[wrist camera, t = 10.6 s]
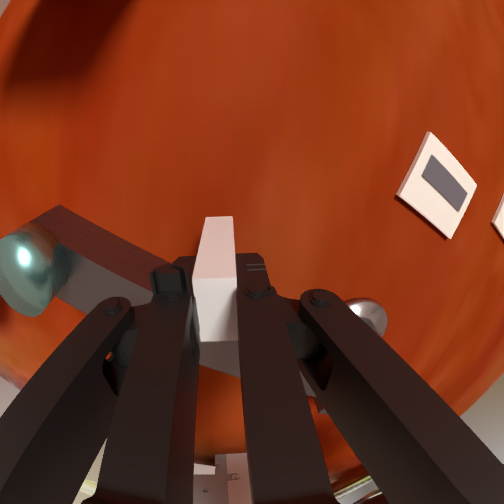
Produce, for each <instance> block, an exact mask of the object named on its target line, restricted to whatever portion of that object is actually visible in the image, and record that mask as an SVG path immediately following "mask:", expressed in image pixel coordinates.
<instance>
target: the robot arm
mask: <svg viewBox="0 0 504 504" xmlns="http://www.w3.org/2000/svg"><path fill="white" fill-rule="evenodd" d="M149 277H150V282H151V287H152V292H153V297H152V300H151V302H150V303H147V304H143V305H139V306H134V307H132V306H131V302H130V301H129V300H128V299H127V298H124V297H110V298H107V299H105V300H103V301H101V302H100V303H99V304H98V305H97V306H96V307H95V308H94V309H93V310H92V311H91V312H90V313H89V314H88V315H87V316H86V317H85V318H84V319H83V320H82V321H81V322H80V323H79V324H78V325H77V326H76V328H75V329H74V330H73V331H72V332H71V333H70V334H69V335H68V336H67V337H66V338H65V339H64V341H63V342H62V343H61V344H60V345H59V346H58V347H57V348H56V349H55V351H54V352H53V353H52V354H51V355H50V356H49V357H48V359H47V360H46V361H45V362H44V363H43V364H42V366H41V367H40V368H39V369H38V370H37V372H36V373H35V374H34V375H33V376H32V378H31V379H30V380H29V381H28V382H27V384H26V385H25V386H24V387H23V389H22V390H21V391H20V393H19V394H18V395H17V396H16V398H15V399H14V400H13V401H12V403H11V404H10V406H9V407H8V408H7V409H6V411H5V412H4V413H3V415H2V416H1V418H0V504H72V503H73V501H74V499H75V497H76V495H77V493H78V491H79V489H80V487H81V485H82V483H83V482H84V480H85V478H86V475H87V474H88V472H89V470H90V468H91V466H92V464H93V462H94V460H95V459H96V457H97V455H98V453H99V451H100V449H101V447H102V445H103V444H104V442H105V440H106V438H107V442H106V446H105V450H104V454H103V459H102V463H101V468H100V473H99V478H98V483H97V488H96V491H95V493H94V495H93V496H92V497H90V498H87V499H85V500H83V501H82V503H81V504H193V472H194V441H195V419H196V402H197V386H198V372H199V359H200V348H199V334H200V340H201V342H206V341H237V340H238V350H239V364H240V378H241V391H242V404H243V416H244V428H245V439H246V450H247V461H248V471H249V481H250V491H251V501H252V504H340V503H339V502H338V501H337V500H336V498H335V497H334V494H333V491H332V487H331V483H330V479H329V476H328V472H327V468H326V464H325V461H324V457H323V453H322V450H321V446H320V442H319V439H318V435H317V431H316V428H315V424H314V421H313V417H312V413H311V410H310V406H309V403H308V399H307V396H306V392H305V388H304V385H303V381H302V378H301V374H300V372H301V373H302V375H303V376H304V378H305V379H306V381H307V383H308V384H309V386H310V387H311V389H312V390H313V392H314V393H315V395H316V396H317V398H318V399H319V401H320V402H321V404H322V405H323V407H324V408H325V410H326V412H327V413H328V415H329V416H330V418H331V419H332V421H333V422H334V424H335V425H336V427H337V428H338V430H339V431H340V433H341V434H342V435H343V437H344V438H345V440H346V441H347V443H348V444H349V446H350V447H351V449H352V450H353V452H354V453H355V455H356V456H357V458H358V459H359V460H360V462H361V463H362V465H363V466H364V468H365V469H366V471H367V472H368V473H369V475H370V476H371V478H372V479H373V480H374V482H375V483H376V485H377V486H378V488H379V489H380V490H381V492H382V494H380V495H377V496H375V497H372V498H370V499H367V500H363V501H362V502H360V503H358V504H504V464H502V463H501V462H500V461H499V460H498V459H497V458H496V456H494V454H493V453H492V452H491V451H490V450H489V449H488V447H487V446H486V445H485V444H484V443H483V442H482V441H481V440H480V439H479V438H478V437H477V436H476V434H475V433H474V432H473V431H472V430H471V429H470V428H469V427H468V426H467V425H466V424H465V423H464V422H463V420H462V419H461V418H460V417H459V416H458V415H457V414H456V413H455V412H454V411H453V410H452V409H451V408H450V407H449V406H448V405H447V403H446V402H445V401H444V400H443V399H442V398H441V397H440V396H439V395H438V394H437V393H436V392H435V391H434V390H433V389H432V388H431V387H430V386H429V385H428V384H427V383H426V382H425V381H424V380H423V379H422V378H421V377H420V376H419V375H418V374H417V373H416V372H415V371H414V370H413V369H412V368H411V367H410V366H409V365H408V364H407V363H406V362H405V361H404V360H403V359H402V358H401V357H400V356H399V355H398V354H397V353H396V352H395V351H394V350H393V349H392V348H391V347H390V346H389V345H388V344H387V343H386V342H385V341H384V340H383V339H382V338H381V337H380V336H379V335H378V334H377V333H376V332H375V331H374V330H373V329H372V328H371V327H370V326H369V325H368V324H366V323H365V322H364V321H363V320H362V319H361V318H360V317H359V316H358V315H357V314H356V313H355V312H354V311H353V310H352V309H351V308H350V307H349V306H348V305H347V304H346V303H344V302H343V301H342V300H341V299H340V298H339V297H338V296H337V295H336V294H334V293H333V292H330V291H327V290H324V289H312V290H308V291H305V292H304V293H303V294H302V295H301V297H300V300H295V299H289V298H284V297H281V296H279V295H277V292H276V290H275V288H274V287H273V286H271V285H270V282H269V278H268V274H267V271H266V267H265V264H264V260H263V258H262V257H261V256H260V255H259V254H258V253H242V254H235V247H234V231H233V216H226V217H206V220H205V224H204V228H203V232H202V236H201V240H200V245H199V249H198V253H197V256H183V257H179V258H177V259H176V260H175V261H174V262H173V264H165V265H162V266H158V267H156V268H154V269H153V270H152V271H151V272H150V273H149ZM109 352H110V353H111V356H110V357H109V359H107V360H106V356H107V355H108V354H109ZM299 370H300V371H299ZM107 436H108V437H107Z"/></svg>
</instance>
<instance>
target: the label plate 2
mask: <svg viewBox="0 0 504 504" xmlns="http://www.w3.org/2000/svg"><path fill="white" fill-rule="evenodd" d="M491 222H492V223H493V224H494V226H495V227H496V229H497V230H498V232H499V233H500V235H501V236H502V238H503V240H504V194H503V196H502V199H501V201H500V203H499V206H498V208H497V210H496V213H495V215H494V217H493V219H492V221H491Z"/></svg>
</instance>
